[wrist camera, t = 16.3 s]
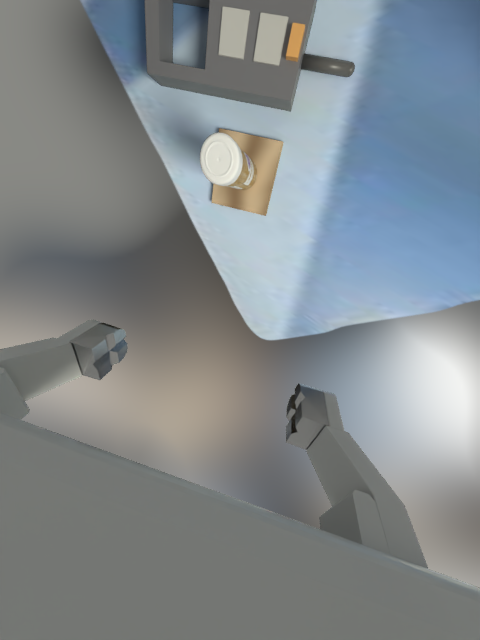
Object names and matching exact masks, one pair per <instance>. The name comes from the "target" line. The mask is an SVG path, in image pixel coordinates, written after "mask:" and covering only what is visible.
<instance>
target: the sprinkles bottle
mask: <svg viewBox="0 0 480 640" xmlns="http://www.w3.org/2000/svg"><path fill="white" fill-rule="evenodd" d="M200 164H201V168H202V171H203V173H204V175H205V176H206V178H207V179H208V180H209V181H210V182H212V183H214V184H216V185H219V186H228V187H231V188H236V189H239V190H248V189H250V188H251V187H252V186H253V185H254V183H255V181H256V179H257V167H256V164H255V163H254V161H253V160H252V159H251V158H249V156H248V155H247V154H246V153H245V152H243V151H242V150H241V149H240V147H239V146H238V144H237V143H236V142H235V141H234V140H233V139H232V138H231V137H230V136H229V135H227V134H225V133H220V132H219V133H214V134H212V135H210V136H209V137H208V138H207V139H206V140H205V141H204V143H203V145H202V148H201V152H200Z"/></svg>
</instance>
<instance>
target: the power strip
mask: <svg viewBox="0 0 480 640" xmlns="http://www.w3.org/2000/svg"><path fill="white" fill-rule="evenodd" d="M173 2H174V3H180V4H186V5H192V6H199V7H205V8H209V18H208V33H207V48H206V62H205V70H204V69H199V68H194V67H188V66H183V65H178V64H173ZM316 2H317V0H145V25H146V53H147V73H148V74H149V75H150V76H151V77H152V78H153V79H154V80H155V81H157V82H158V83H159V84H160V85H161V86H165V87H170V88H176V89H181V90H186V91H191V92H196V93H201V94H206V95H211V96H216V97H221V98H226V99H231V100H236V101H241V102H246V103H251V104H256V105H261V106H266V107H271V108H276V109H281V110H286V111H291V109H292V105H293V101H294V96H295V92H296V88H297V84H298V80H299V75H300V71H301V69H305V70H310V71H316V72H321V73H327V74H333V75H338V76H344V77H349V76H351V75H352V74H353V72H354V69H355V65H354V63H353V62H349V61H344V60H338V59H332V58H326V57H321V56H315V55H309V54H305V50H306V46H307V42H308V38H309V34H310V29H311V25H312V21H313V17H314V13H315V8H316Z"/></svg>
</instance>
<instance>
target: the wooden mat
mask: <svg viewBox="0 0 480 640" xmlns="http://www.w3.org/2000/svg"><path fill="white" fill-rule="evenodd" d="M219 132H220V133H225V134H227V135H229V136H230V137H231V138H232V139H233V140H234V141H235V142H236V143H237V144H238V146H239V147H240V149H241V150H242V151H243V152H245V153H246V154H247V155H248V156H249V158H251V159H252V160H253V161H254V163H255V164H256V167H257V179H256V181H255V183H254V185H253V186H252V187H251V188H250V189H248V190H239V189H236V188H231V187H228V186H219V185H216V184H213V194H212V203H215V204H219V205H224V206H228V207H232V208H236V209H240V210H244V211H248V212H252V213H256V214H260V215H265V216H266V214H267V209H268V205H269V201H270V197H271V193H272V188H273V184H274V180H275V176H276V172H277V168H278V163H279V159H280V155H281V151H282V147H283V142H282V141H277V140H273V139H268V138H263V137H258V136H254V135H249V134H244V133H239V132H235V131H230V130H225V129H221V128H219Z"/></svg>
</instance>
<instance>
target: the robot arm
mask: <svg viewBox="0 0 480 640" xmlns="http://www.w3.org/2000/svg"><path fill="white" fill-rule="evenodd" d="M125 337H126V333H125V330H123V329H121V328H117V327H115V326H112V325H109V324H106V323H102V322H99V321H96V320H88V321H86V322H85V323H83V324H81V325H80V326H78V327H76V328H74V329H73V330H71V331H69V332H67V333H66V334H64V335H62V336H61V337H59V338H57V339H56V338H50V339H45V340H41V341H36V342H32V343H27V344H23V345H18V346H14V347H9V348H4V349H0V640H480V588H479V587H477V586H474V585H471V584H468V583H466V582H463V581H460V580H458V579H454V578H452V577H449V576H447V575H444V574H441V573H438V572H436V571H433V570H430V569H428V567H427V564H426V561H425V559H424V556H423V553H422V551H421V548H420V545H419V543H418V540H417V537H416V534H415V532H414V529H413V526H412V524H411V521H410V518H409V516H408V513H407V510H406V508H405V505H404V504H403V503H402V501H401V500H400V499H399V498H398V496H397V495H396V494H395V492H394V491H393V490H392V488H391V487H390V486H389V485H388V483H387V482H386V481H385V479H384V478H383V477H382V476H381V474H380V473H379V472H378V470H377V469H376V468H375V467H374V465H373V464H372V463H371V461H370V460H369V459H368V458H367V456H366V455H365V454H364V452H363V451H362V450H361V448H360V447H359V446H358V445H357V443H356V442H355V441H354V440H353V438H352V437H351V436H350V434H349V433H348V432H345V431H344V428H343V423H342V419H341V415H340V411H339V407H338V403H337V398H336V396H335V394H332V393H329V392H326V391H322V390H319V389H316V388H312V387H309V386H306V385H302V384H298V385H297V386H296V388H295V394H294V395H292V396H291V397H290V399H289V402H288V406H287V415H286V417H287V419H288V420H289V423H288V424H287V426H286V443H289V444H291V445H294V446H297V447H300V448H302V449H305V450H307V451H306V452H307V454H308V456H309V458H310V460H311V462H312V465H313V467H314V469H315V471H316V473H317V475H318V477H319V479H320V482H321V484H322V486H323V488H324V490H325V492H326V494H327V496H328V499H329V501H330V503H331V505H332V507H331V508H330V509H329V510H328V511H326V512H325V513H324V514H322V515H321V516H320V517H319V519H320V529H318V528H315V527H312V526H309V525H307V524H304V523H301V522H299V521H296V520H293V519H290V518H288V517H285V516H282V515H279V514H277V513H274V512H271V511H269V510H266V509H263V508H260V507H258V506H255V505H252V504H250V503H247V502H244V501H241V500H239V499H236V498H233V497H230V496H228V495H225V494H222V493H219V492H217V491H214V490H211V489H208V488H206V487H203V486H200V485H198V484H195V483H192V482H189V481H186V480H184V479H181V478H178V477H175V476H173V475H170V474H167V473H165V472H162V471H159V470H156V469H153V468H151V467H148V466H146V465H143V464H140V463H137V462H135V461H132V460H129V459H126V458H124V457H121V456H118V455H115V454H113V453H110V452H107V451H104V450H102V449H99V448H96V447H94V446H90V445H88V444H85V443H83V442H80V441H77V440H74V439H71V438H69V437H66V436H63V435H61V434H58V433H55V432H52V431H50V430H47V429H44V428H41V427H39V426H36V425H33V424H31V423H28V422H25V421H22V420H21V419H22V418H23V417H25V416H26V415H27V414H28V413H29V411H30V409H29V407H28V406H27V404H26V402H25V401H26V400H29V399H31V398H33V397H35V396H38V395H40V394H42V393H45V392H47V391H49V390H51V389H54V388H56V387H58V386H60V385H63V384H65V383H67V382H69V381H72V380H74V379H76V378H78V377H81V376H82V375H84V376H88V377H91V378H94V379H98V380H101V379H102V378H103V377H104V376H105V375H106V374H107V373H108V372H110V371H111V369H112V365H114V364H117V363H119V362H120V361H121V360H122V359H123V358H124V357H125V355H126V353H127V349H128V347H127V343H126V342H125V340H124V338H125Z"/></svg>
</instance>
